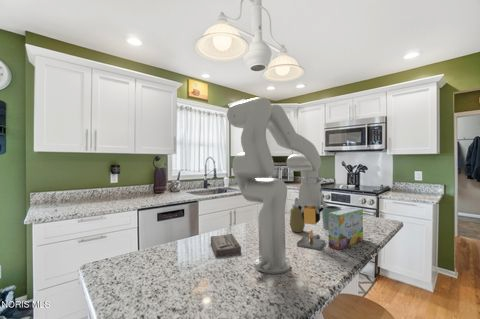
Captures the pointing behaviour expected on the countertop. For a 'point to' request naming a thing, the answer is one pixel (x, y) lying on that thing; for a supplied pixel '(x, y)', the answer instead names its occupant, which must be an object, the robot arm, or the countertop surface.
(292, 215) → the squeeze bottle
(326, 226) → the green cup
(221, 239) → the box
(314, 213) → the cube with dome knob
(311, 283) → the countertop surface
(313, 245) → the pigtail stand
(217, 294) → the countertop surface
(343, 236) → the snack box
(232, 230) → the countertop surface
